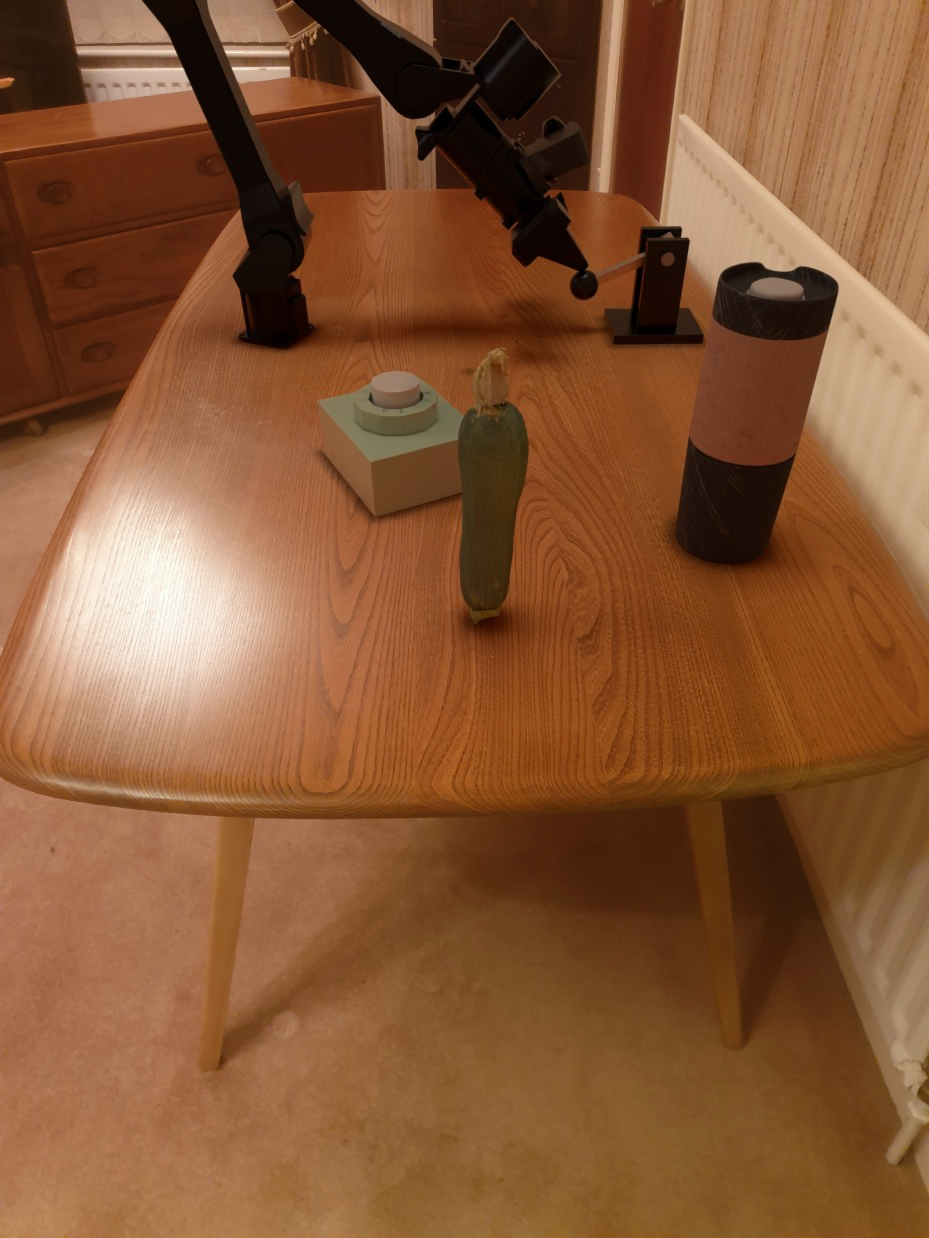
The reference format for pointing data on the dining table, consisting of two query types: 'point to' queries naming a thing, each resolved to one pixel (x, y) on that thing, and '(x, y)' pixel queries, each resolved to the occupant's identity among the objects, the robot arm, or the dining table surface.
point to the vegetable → (490, 487)
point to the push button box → (393, 448)
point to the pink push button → (395, 390)
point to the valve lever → (604, 275)
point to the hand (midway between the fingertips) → (585, 268)
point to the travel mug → (751, 406)
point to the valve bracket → (657, 295)
